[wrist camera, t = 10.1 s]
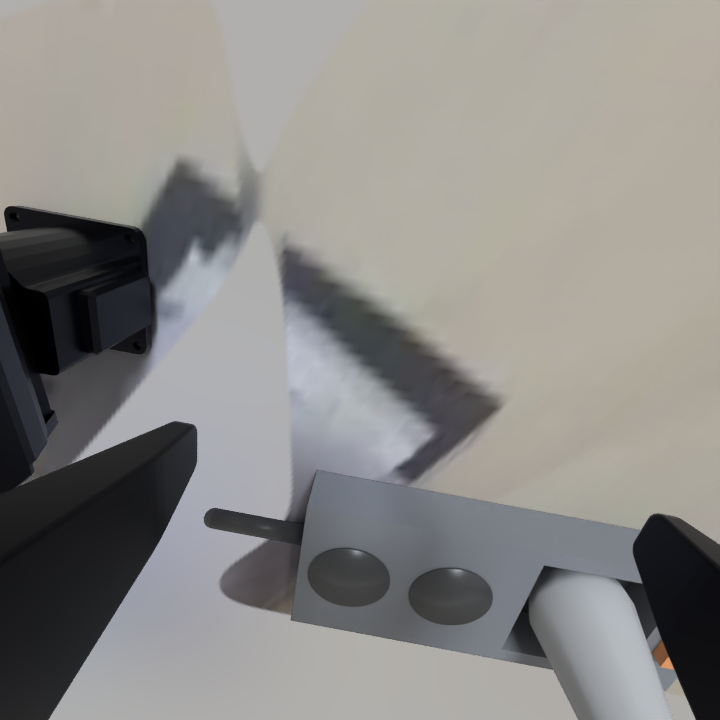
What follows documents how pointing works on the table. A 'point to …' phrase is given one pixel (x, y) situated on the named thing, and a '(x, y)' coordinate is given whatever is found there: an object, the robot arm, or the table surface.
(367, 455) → the table surface
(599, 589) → the salt shaker
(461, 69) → the table surface
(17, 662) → the robot arm
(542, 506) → the table surface
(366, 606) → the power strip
